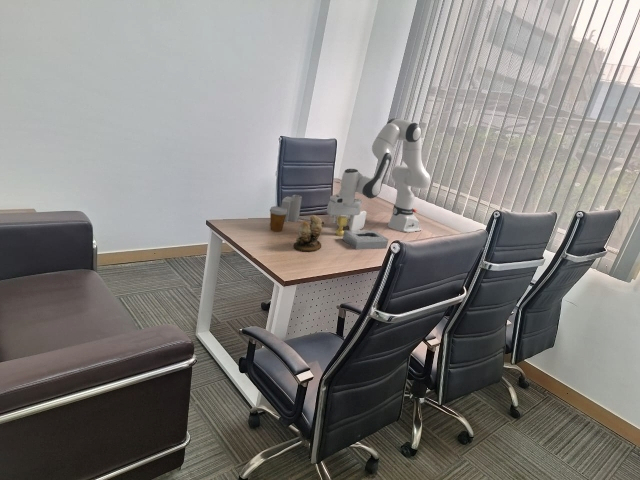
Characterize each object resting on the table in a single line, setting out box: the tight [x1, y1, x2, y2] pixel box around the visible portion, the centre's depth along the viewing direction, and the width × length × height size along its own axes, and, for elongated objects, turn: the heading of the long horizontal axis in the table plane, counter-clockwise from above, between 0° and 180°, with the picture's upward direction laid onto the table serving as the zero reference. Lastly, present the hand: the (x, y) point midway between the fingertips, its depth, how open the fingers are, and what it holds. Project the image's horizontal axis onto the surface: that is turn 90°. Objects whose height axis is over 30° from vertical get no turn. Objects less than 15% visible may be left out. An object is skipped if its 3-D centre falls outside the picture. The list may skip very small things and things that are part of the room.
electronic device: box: [280, 194, 325, 225], centre depth 237 cm, size 12×26×15 cm, turn 81°
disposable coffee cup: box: [269, 206, 287, 233], centre depth 218 cm, size 10×10×12 cm
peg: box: [335, 215, 347, 237], centre depth 227 cm, size 4×4×10 cm
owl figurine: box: [293, 214, 323, 253], centre depth 201 cm, size 18×12×17 cm, turn 148°
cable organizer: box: [336, 210, 367, 231], centre depth 241 cm, size 15×11×12 cm
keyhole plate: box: [342, 229, 389, 250], centre depth 221 cm, size 20×14×5 cm
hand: (341, 222), depth 226 cm, fingers open, 8 cm apart
